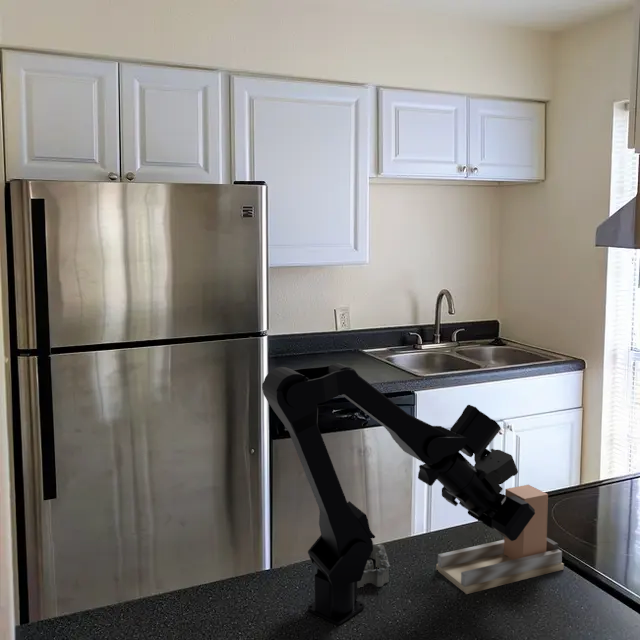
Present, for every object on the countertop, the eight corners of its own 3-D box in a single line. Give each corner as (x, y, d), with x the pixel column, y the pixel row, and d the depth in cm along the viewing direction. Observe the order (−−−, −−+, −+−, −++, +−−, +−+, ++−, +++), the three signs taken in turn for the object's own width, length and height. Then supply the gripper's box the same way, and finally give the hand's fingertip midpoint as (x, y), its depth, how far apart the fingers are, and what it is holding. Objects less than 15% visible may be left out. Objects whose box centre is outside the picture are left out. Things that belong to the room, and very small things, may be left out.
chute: (466, 594, 107) (466, 570, 106) (436, 569, 115) (436, 547, 114) (563, 569, 114) (564, 547, 114) (528, 547, 123) (529, 527, 122)
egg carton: (341, 559, 119) (340, 537, 119) (382, 558, 120) (382, 536, 119) (346, 590, 109) (345, 566, 108) (391, 588, 109) (391, 564, 109)
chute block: (522, 566, 113) (524, 498, 112) (503, 554, 118) (505, 488, 116) (545, 560, 115) (548, 494, 114) (526, 548, 120) (528, 484, 118)
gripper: (526, 455, 102) (579, 511, 108) (456, 424, 119) (505, 475, 125) (483, 513, 100) (539, 567, 106) (418, 473, 117) (469, 522, 123)
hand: (512, 529), depth 115 cm, fingers closed, pressing on chute block
